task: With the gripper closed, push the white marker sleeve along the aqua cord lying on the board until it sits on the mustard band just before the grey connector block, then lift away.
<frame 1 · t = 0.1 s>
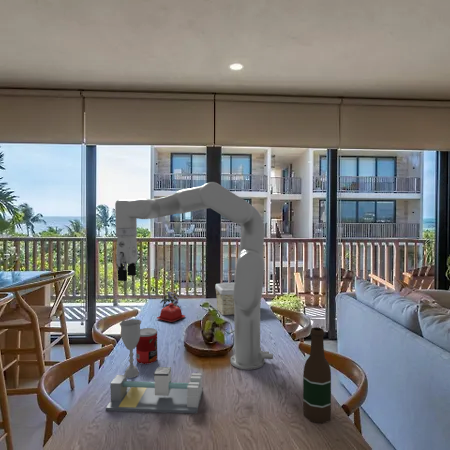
hand: (127, 278, 124), 31 cm above the table, tool pointing down, fingers open, 9 cm apart
canned food: (147, 360, 125), on the table
butter dish: (171, 319, 173), on the table
chalice: (131, 374, 114), on the table
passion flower: (169, 306, 196), on the table
marker sleeve: (163, 381, 98), point 6 cm above the table, slide at 0.0 cm
cable rig: (156, 399, 99), on the table
storage basket: (238, 311, 186), on the table
beer bottle: (317, 416, 91), on the table
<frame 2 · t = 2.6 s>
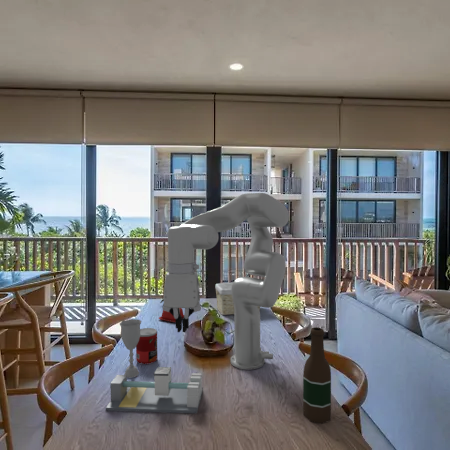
hand: (182, 330, 97), 21 cm above the table, tool pointing down, fingers closed
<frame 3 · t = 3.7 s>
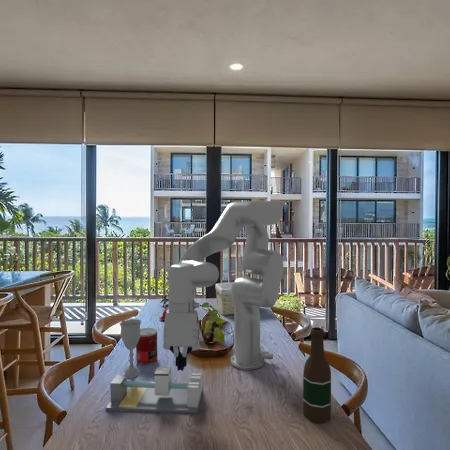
hand: (181, 368, 97), 10 cm above the table, tool pointing down, fingers closed
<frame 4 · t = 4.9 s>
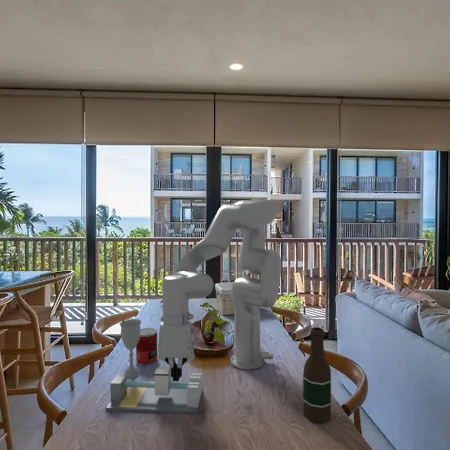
hand: (176, 379, 98), 6 cm above the table, tool pointing down, fingers closed
marker sleeve: (163, 381, 98), point 6 cm above the table, slide at 0.0 cm, touching gripper
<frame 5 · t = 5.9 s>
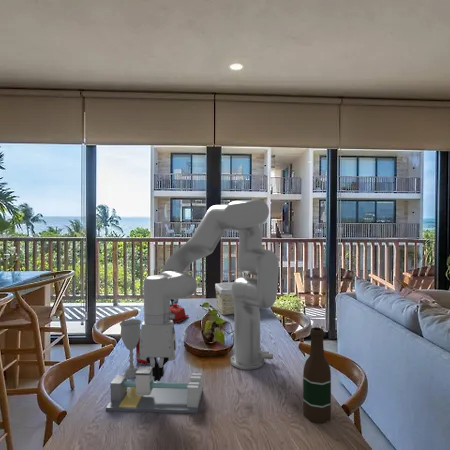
hand: (158, 378, 98), 6 cm above the table, tool pointing down, fingers closed
marker sleeve: (144, 380, 99), point 6 cm above the table, slide at 5.6 cm, touching gripper
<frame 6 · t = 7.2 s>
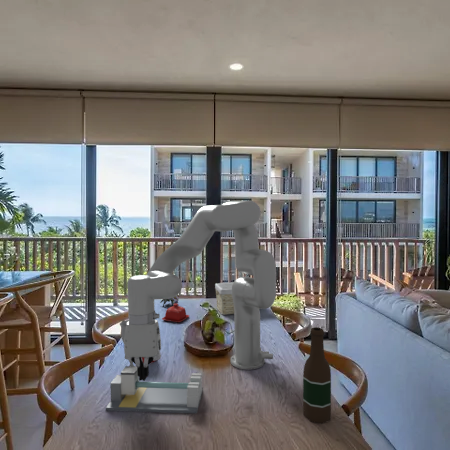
hand: (143, 378, 99), 6 cm above the table, tool pointing down, fingers closed
marker sleeve: (130, 380, 99), point 6 cm above the table, slide at 10.0 cm, touching cable rig, gripper
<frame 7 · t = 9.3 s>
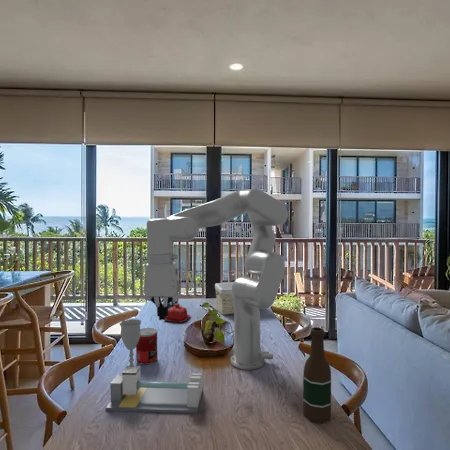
hand: (162, 318, 101), 23 cm above the table, tool pointing down, fingers closed
marker sleeve: (131, 380, 99), point 6 cm above the table, slide at 9.6 cm
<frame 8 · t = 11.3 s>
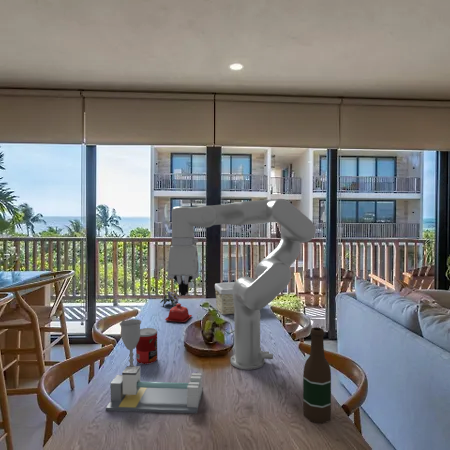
hand: (183, 294, 115), 27 cm above the table, tool pointing down, fingers closed
at the end: marker sleeve slide at 9.6 cm; marker sleeve 0.3 cm from the target spot on the cable rig, point 5.8 cm above the cable rig's base; the gripper is holding nothing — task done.
